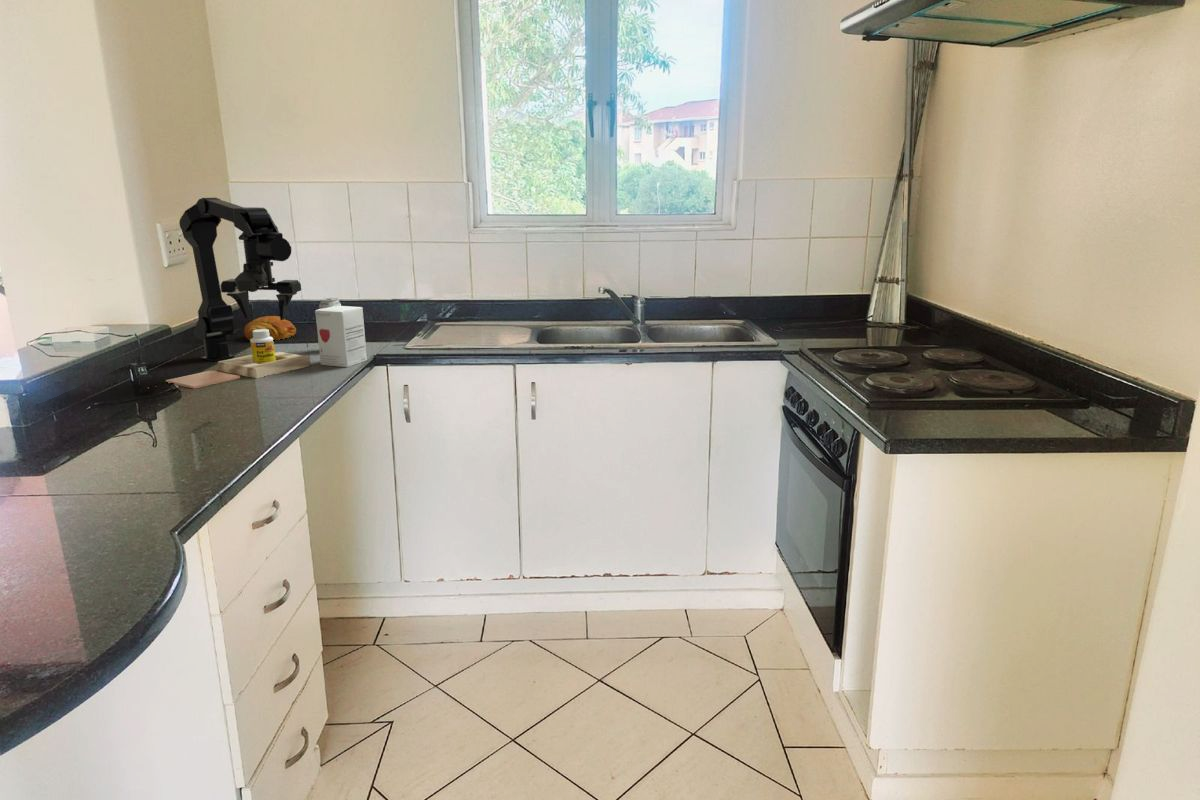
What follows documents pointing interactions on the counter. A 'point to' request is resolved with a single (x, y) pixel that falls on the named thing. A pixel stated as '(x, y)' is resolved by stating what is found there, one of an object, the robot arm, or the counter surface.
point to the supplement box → (341, 335)
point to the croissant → (271, 327)
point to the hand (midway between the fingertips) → (264, 319)
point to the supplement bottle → (262, 347)
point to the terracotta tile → (203, 379)
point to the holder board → (264, 365)
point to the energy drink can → (329, 303)
